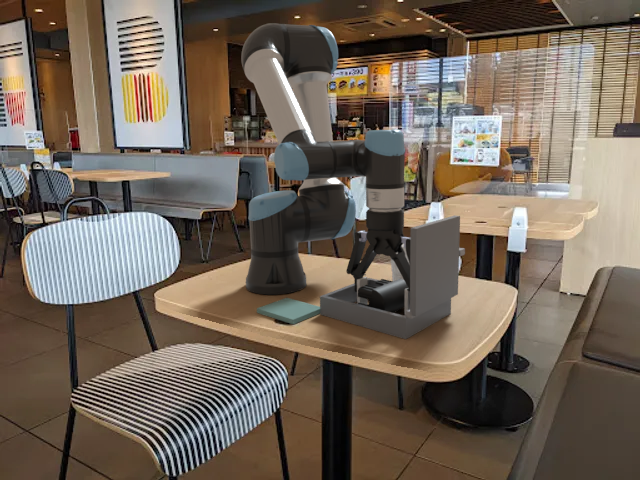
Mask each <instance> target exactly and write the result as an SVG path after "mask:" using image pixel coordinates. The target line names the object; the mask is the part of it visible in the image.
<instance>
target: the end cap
mask: <svg viewBox="0 0 640 480" xmlns="http://www.w3.org/2000/svg"><path fill="white" fill-rule="evenodd" d="M377 280H378V281H376V282H375V283H376V284H379V285H383V286H380V287H374V286H370V285H365V286H362V287H360V288H359V289H358V297H361V298H365V299H368V304H364V303H360V302H359V303H358V304H360V305H364V306H368V307H372V308H376V309H380V310H384V311H388V312H392V313H397V312H399V311H401V310H402V309H405V289H407V288H408V286H407V285H406V283H405V281H404V280H403V279H398V280H395V281H392V280H388V279H383V278H381V279H377Z"/></svg>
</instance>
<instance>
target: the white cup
mask: <svg viewBox="0 0 640 480" xmlns="http://www.w3.org/2000/svg"><path fill="white" fill-rule="evenodd" d="M402 248H403V250H404V252H405V257H406V259H407V261H408V263H409V260H408V257H407V253H406V248H404V244H402ZM396 254H398V252H397V253H396ZM390 264H391V268H390V269H391V277H392V280H391V281H395V280H398V279H403V277H402V275H401V273H400V271H399V269H398V267H397V266H396V264H395V262H394V260H392V259H391V258H390ZM409 264H410V263H409ZM403 280H404V279H403Z"/></svg>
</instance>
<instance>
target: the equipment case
mask: <svg viewBox="0 0 640 480" xmlns="http://www.w3.org/2000/svg"><path fill="white" fill-rule="evenodd" d="M460 228H461V216H460V215H451V216H449V217H448V216H447V217H443V218H441V219H437V220H434V221H430V222H427V223H423V224H420V225H417V226H413V227H410V236H409V238H410V309H409V310H407V311H406V315H405V314H404V315H403V314H399V313H397V312H394V313H392V312H388V311H384V310H380V309H376V308H372V307H368V306H364V305H360V304H357V292H355V282H354V283H352V284H348V285H346V286H343V287H341V288H338V289H336V290H332V291H330V292H328V293H325V294H322V295H320V296H319V307H320V314H319V315H321V316H325V317H328V318H331V319H334V320H337V321H341V322H345V323H348V324H352V325H355V326H359V327H362V328H365V329H369V330H373V331H376V332H380V333H383V334H387V335H391V336H393V337H397V338H401V339H404V340H407V339H409V338H411V337H412V336H414V335H415V334H417V333H419V332H422V331H423V330H424V329H426V328H428V327H430V326H431V325H433V324H435V323H437V322H439V321H440V320H442V319H444V318H445V317H447V316H449V315H451V314H452V298H454V297H455V296H458V295H459V271H460V270H459V268H460V267H459V266H460V263H459V262H460V257H462V256H465V254H466V248H464V247H460V238H461V235H460V233H461V229H460ZM378 280H379V279H376V278H370V277H367V284H368V285H370V286H374V287H380V286H383V285H379V284H376V283H375V282H376V281H378Z"/></svg>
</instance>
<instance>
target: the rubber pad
mask: <svg viewBox="0 0 640 480" xmlns="http://www.w3.org/2000/svg"><path fill="white" fill-rule="evenodd" d="M256 313H257V314H260V315H263V316H266V317H270V318H273V319H275V320H278V321H281V322H284V323H287V324H288V323H289V324H291V325H295V324H298V323H300V322H302V321H304V320H307V319H309V318H313V317H314V316H317V315H320V305H315V304H311V303H308V302H304V301H301V300H298V299H297V300H296V299H294V298H290V297H284V298H282V299H280V300H276V301H274V302H271V303H269V304H266V305H262V306H259V307H256Z"/></svg>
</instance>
